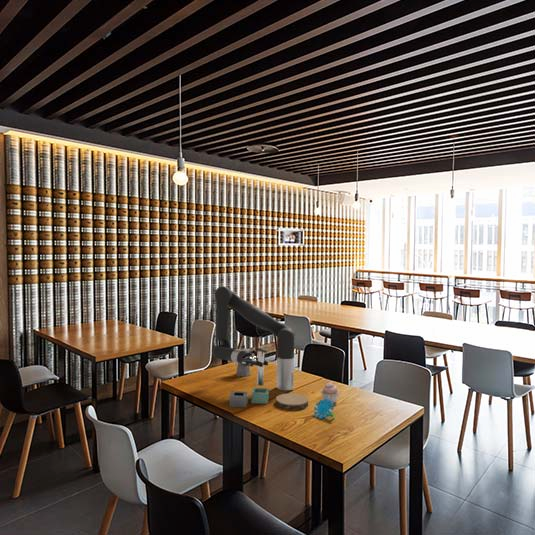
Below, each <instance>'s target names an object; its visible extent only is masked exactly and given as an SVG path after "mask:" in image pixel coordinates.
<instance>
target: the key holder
mask: <svg viewBox="0 0 535 535" xmlns="http://www.w3.org/2000/svg"><path fill="white" fill-rule="evenodd" d="M269 394H270V388H268V387H266V388H265V387H263V388H262V387H253V388H252V391H251V404H262V405H263V404H267V405H268V403H269V400H270V399H269V398H270V396H269Z"/></svg>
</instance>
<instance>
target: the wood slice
mask: <svg viewBox="0 0 535 535" xmlns="http://www.w3.org/2000/svg"><path fill="white" fill-rule="evenodd" d="M275 405H276V406H277V408H280V409H282V408H283V409H282V410H286V409H287V411H299V410H304V409H307V408H308V407H309V398H308V397H307V396H305V395H303V394H299V393H281V394H279V395H277V396H276V397H275Z"/></svg>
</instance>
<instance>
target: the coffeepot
mask: <svg viewBox="0 0 535 535" xmlns="http://www.w3.org/2000/svg"><path fill="white" fill-rule="evenodd" d="M239 349H240V350H244V351H248V352H250V353H251V354H253V356H255V357H258V351H257V350H255V349H249V348H246V345H244V344H243V345H242V348H239ZM256 351H257V352H256ZM236 367H237V368H236V371H235V372H236V373H235V375H236V376H237V377H240V376H243V377H242V378H245V376H246V377H250V376H251V368H250V366H243V365H240V364H237V366H236ZM249 375H250V376H249Z"/></svg>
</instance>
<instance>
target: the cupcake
mask: <svg viewBox="0 0 535 535" xmlns="http://www.w3.org/2000/svg"><path fill="white" fill-rule="evenodd" d="M320 393H321V395H322V400H323V402H324V399H325V398H326V399H327V401H328V400H329V399H330V400H331V403H332V402H333V404H335V403H337V401H338V397H339V395H340V392H339V391H338V388H337V386H336V385H335V384H333V382H331V381H330V382H328V383H326V384H324V387H323V388H322V390H320ZM327 401H326V402H327ZM326 402H325V403H326ZM328 404H330V403H328Z"/></svg>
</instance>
